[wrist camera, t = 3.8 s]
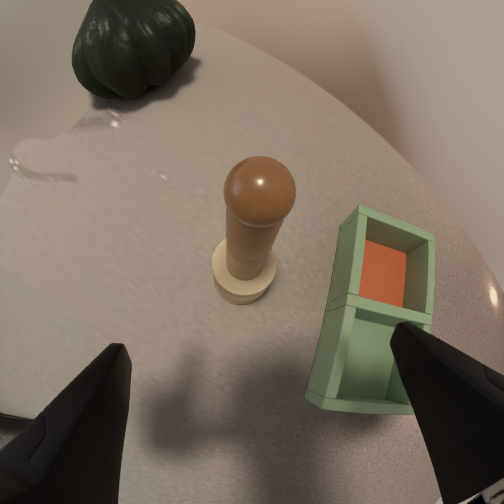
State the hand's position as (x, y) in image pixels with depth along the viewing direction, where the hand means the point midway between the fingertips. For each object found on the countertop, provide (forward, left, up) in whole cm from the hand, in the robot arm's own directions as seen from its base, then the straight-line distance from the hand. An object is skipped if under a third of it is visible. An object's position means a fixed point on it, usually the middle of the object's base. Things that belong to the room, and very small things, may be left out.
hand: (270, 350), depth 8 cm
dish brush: (+3, -4, -12) cm, 13 cm away
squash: (+28, -18, -12) cm, 35 cm away
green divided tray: (-7, -7, -12) cm, 15 cm away
